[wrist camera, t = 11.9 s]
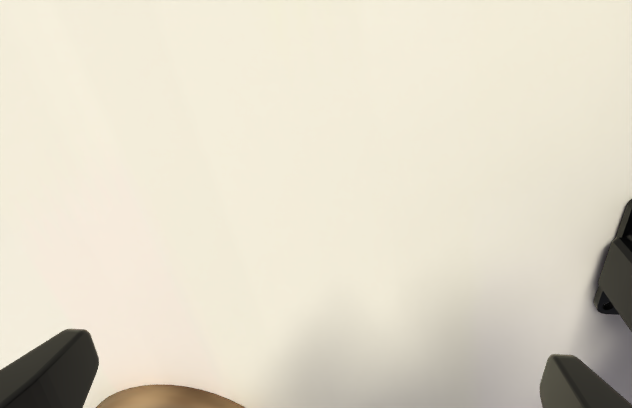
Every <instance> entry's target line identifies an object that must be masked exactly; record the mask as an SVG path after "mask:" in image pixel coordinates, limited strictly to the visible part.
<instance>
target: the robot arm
mask: <svg viewBox="0 0 632 408" xmlns="http://www.w3.org/2000/svg"><path fill="white" fill-rule="evenodd" d="M598 284H599V287H598V290H597V293H596V296H595V299H594V305H595V306H596V308H597V310H598V311H599V312H600V313H603V314H618V315H620V316H621V317H622V319H623V320H624V321H625V323H626V324H627V326H628V327H629V329H630V330H631V332H632V199H631V200H630V201H629V202H628V204H627V207H626V210H625V212H624V215H623V218H622V221H621V224H620V227H619V230H618V233H617V235H616V238H615V239H614V240H613V241H612V243H611V246H610V249H609V252H608V255H607V258H606V260H605V263H604V266H603V269H602V272H601V275H600V278H599V281H598ZM607 302H609V303H608V304H605V303H607ZM604 304H605V305H604ZM98 366H99V358H98V355H97V352H96V349H95V346H94V343H93V341H92V338H91V335H90V333H89V332H88V331H87V330H84V329H66V330H64V331H62V332H60V333H59V334H57V335H56V336H54V337H52V338H51V339H49V340H48V341H46V342H45V343H43V344H41V345H40V346H38V347H37V348H35V349H33V350H32V351H30V352H29V353H27V354H25V355H24V356H22V357H21V358H19V359H17V360H16V361H14V362H13V363H11V364H9V365H8V366H6V367H5V368H3V369H1V370H0V408H83V405H84V403H85V400H86V398H87V395H88V393H89V390H90V388H91V385H92V383H93V380H94V378H95V375H96V373H97V370H98ZM540 397H541V402H542V406H543V408H632V405H631V404H630V403H629V402H628V401H627V400H626V399H624V398H623V397H622V396H621V395H620V394H619V393H618V392H616V391H615V390H614V389H613V388H612V387H611V386H609V385H608V384H607V383H606V382H605V381H604V380H603V379H601V378H600V377H599V376H598V375H597V374H596V373H594V372H593V371H592V370H591V369H590V368H589V367H588V366H586V365H585V364H584V363H583V362H582V361H581V360H579V359H578V358H577V357H575V356H573V355H560V354H553V355H550V357H549V358H548V360H547V363H546V366H545V370H544V373H543V376H542V380H541V383H540Z"/></svg>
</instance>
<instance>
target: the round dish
mask: <svg viewBox="0 0 632 408" xmlns="http://www.w3.org/2000/svg"><path fill="white" fill-rule="evenodd" d="M96 408H244V407H243V406H241V405H239V404H237V403H235V402H233V401H231V400H229V399H226V398H224V397H221V396H218V395H216V394H213V393H209V392H206V391H202V390H199V389H194V388H189V387H183V386H174V385H147V386H139V387H134V388H129V389H126V390H123V391H120V392H117V393H115V394H113V395H111V396H109V397H108V398H106V399H105V400H104V401H102V402H101V403H100V404H99V405H98V406H97V407H96Z"/></svg>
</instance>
